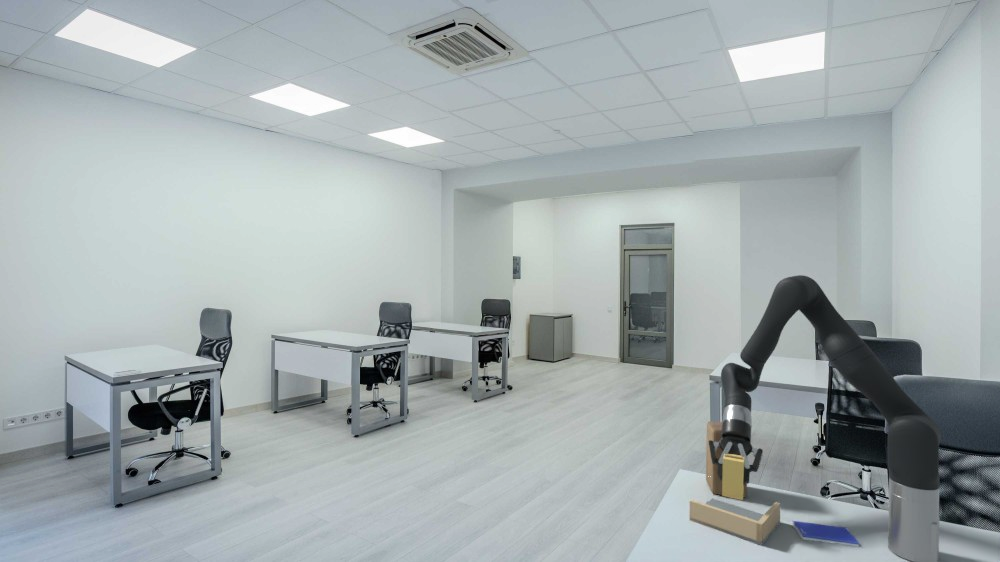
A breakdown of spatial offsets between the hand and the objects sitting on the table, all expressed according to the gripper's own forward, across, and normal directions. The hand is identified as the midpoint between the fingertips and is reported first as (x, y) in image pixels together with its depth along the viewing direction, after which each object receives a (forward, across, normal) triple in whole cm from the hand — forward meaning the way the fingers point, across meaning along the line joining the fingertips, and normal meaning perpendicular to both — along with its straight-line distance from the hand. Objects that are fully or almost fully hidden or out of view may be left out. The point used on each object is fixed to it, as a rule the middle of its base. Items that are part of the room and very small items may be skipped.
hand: (733, 481), depth 130 cm
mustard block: (+2, 0, +4) cm, 5 cm away
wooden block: (-8, -3, +25) cm, 27 cm away
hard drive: (+4, +21, +14) cm, 25 cm away
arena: (+6, 0, +10) cm, 12 cm away
